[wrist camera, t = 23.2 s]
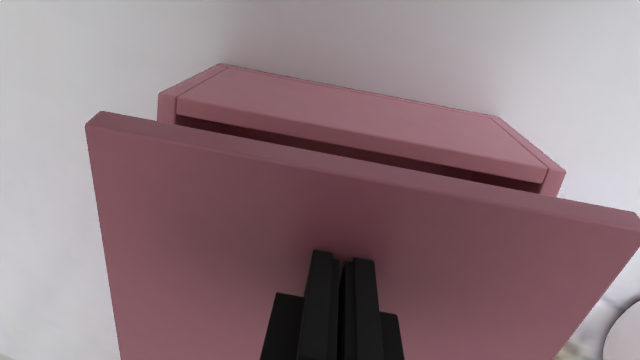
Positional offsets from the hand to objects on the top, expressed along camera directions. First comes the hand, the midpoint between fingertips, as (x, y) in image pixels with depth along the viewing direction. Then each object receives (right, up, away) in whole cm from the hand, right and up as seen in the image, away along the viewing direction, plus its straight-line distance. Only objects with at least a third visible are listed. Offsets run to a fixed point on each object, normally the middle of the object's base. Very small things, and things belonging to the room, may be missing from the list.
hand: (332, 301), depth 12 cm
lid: (0, -3, +3) cm, 4 cm away
